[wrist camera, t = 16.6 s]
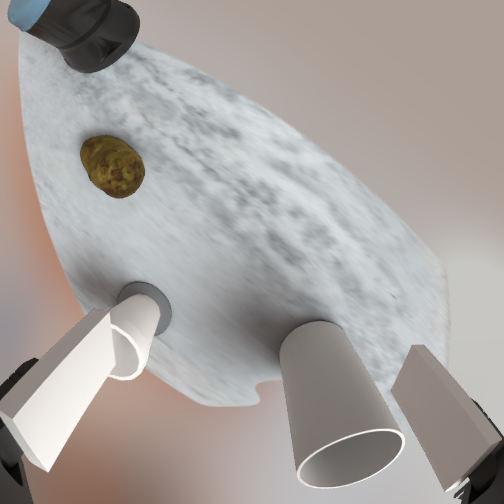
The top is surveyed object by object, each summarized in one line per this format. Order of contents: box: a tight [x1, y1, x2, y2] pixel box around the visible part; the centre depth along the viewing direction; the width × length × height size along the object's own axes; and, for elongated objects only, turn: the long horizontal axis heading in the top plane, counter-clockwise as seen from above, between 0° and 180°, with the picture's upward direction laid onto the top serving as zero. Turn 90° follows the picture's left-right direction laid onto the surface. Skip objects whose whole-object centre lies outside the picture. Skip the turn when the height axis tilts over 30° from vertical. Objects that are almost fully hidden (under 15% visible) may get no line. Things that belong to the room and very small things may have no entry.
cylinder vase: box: [279, 321, 405, 489], centre depth 34 cm, size 12×12×25 cm
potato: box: [80, 135, 145, 198], centre depth 35 cm, size 8×13×8 cm, turn 36°
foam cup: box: [108, 294, 160, 380], centre depth 38 cm, size 10×9×13 cm
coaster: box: [117, 282, 172, 336], centre depth 44 cm, size 10×10×1 cm
